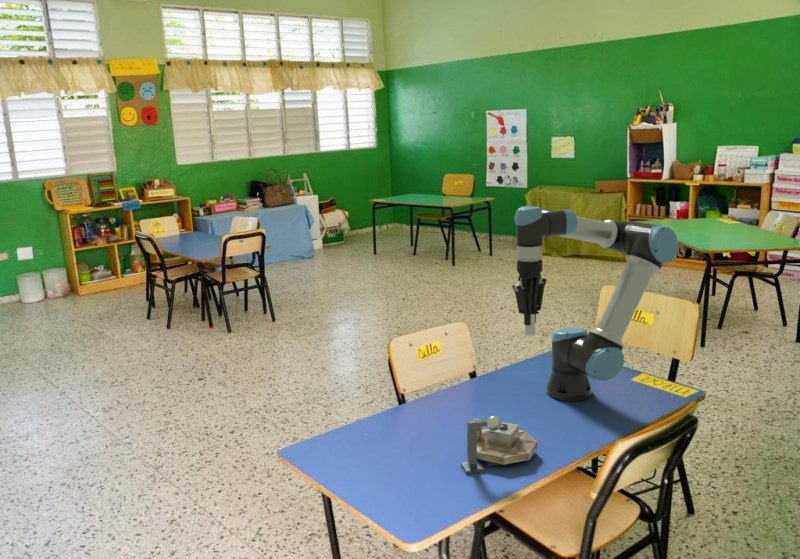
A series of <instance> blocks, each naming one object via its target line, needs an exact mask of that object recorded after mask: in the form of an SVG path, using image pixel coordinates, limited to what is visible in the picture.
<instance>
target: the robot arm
mask: <svg viewBox="0 0 800 559" xmlns="http://www.w3.org/2000/svg"><path fill="white" fill-rule="evenodd" d="M513 219H514V224H515V230H516V232H515V233H516V234H515V235H516V259H517V260H516V272H517V273H518V279H517V283H516V284H513V285H512V286H511V287H512V289H513V291H514V295H515V300H516V304H517V308H518V310H517V311H518V313H519V314H522V315H523V324H524V329H525V330H524V334H525V335H527V336H531V337H533V336H535V335H536V323H537V315H539V313H540V311H541V310H542V305H543V297H544V292H545V286H546V283H547V278H544V277H542V274H541V273H542V272H543V260H542V258H543V239H544V238H549V237H550V238H551V237H561V238H566V239H567V238H568V239H573V240H576V241H583V242H589V243H593V244H598V246H599V247H600V248H604V249H609V250H611V251H615V252H617V253H621V254H623V255H625V259H626V262H627V263H626V265H625V267H624V270H623V271H622V274H621V276H620V278H619V280H618V282H617V285H616V287H615V288H614V291H613V293H612V294H611V297H610V299H609V302H608V303H607V305H606V306H605V309H604V311H603V314H602V316H601V317H600V320H599V322H598V324H597V326H596V328H593V329H592V330H589V332H588V330H587V329H586V328H583V327H565V328H564V327H563V328H559V329H556V330H555V331H554V332H553V333H552V338H551V373H550V375H549V377H548V378H549V379H547V384H546V394H547V395H548V396H549V397H551V398H552V399H556V400H558V401H564V402H565V401H566V402H578V401H579V400H580V401H584V399H585V400H587V399H589V398H590V397H591V396H592V386H591V382H590V380H589V378H591V379H594V380H597V381H602V382H606V381H607V382H608V381H610V380H612V379H614V378H615V377H617V376H618V375H619V374H620V372H621V371H622V369H623V368H624V365H625V360H624V359H625V355H624V354H623V350H624V347H625V346H624V343H623V341H622V339H623V337H624V335H625V333H626V331H627V329H628V327H629V325H630V322H631V321H632V318H633V316H634V314H635V312H636V310H637V308H638V306H639V304H640V302H641V300H642V297H643V295H644V293H645V291H646V289H647V286H648V285H649V282H650V281H651V278H652V277H653V275H654V274H655V273H658V272H660V271H661V269H662V267H663V265H664V264H668V263H670V262H672V261H673V260H674V259H675V258H676V256H677V253H678V250H679V241H678V236H677V234H676V232H675V231H674V230H673V229H672V228H671V227H669V226H665V225H661V224H654V223H647V222H639V221H624V220H623V221H622V220H613V219H606V220H604V221H603V220H597V219H592V218H589V217H588V218H587V217H581V216H578V215H577V214H576V213H575V212H574V211H573V210H572V209H560V210H556V209H547V208H542V207H540V206H530V205H529V206H528V205H527V206H526V205H525V206H521V207H519V208H517V210H516V212H515V214H514V218H513ZM588 397H589V398H588Z"/></svg>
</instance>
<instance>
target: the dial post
mask: <svg viewBox="0 0 800 559" xmlns="http://www.w3.org/2000/svg"><path fill="white" fill-rule="evenodd" d="M502 422H503V421H502V420H501V419H500V417H499V416H497V415H491V416H490V417H488V418H487V419H484V420H483V419H481V421H475V420H472V419H467V420H466V435H467V436H466V440H467V442H466V443H467V445H466V446H467V461H462V462H460V467H461V468H462V470H463V471H464V473H465V475H473V474H479V473H484V472H485V468H484V466H483V465H482V464H481V461H479V459H478V458H477V430H476V427H487V429H489V430H491V431H497V430H498V429H500V427H501V425H502Z"/></svg>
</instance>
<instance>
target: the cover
mask: <svg viewBox="0 0 800 559" xmlns="http://www.w3.org/2000/svg"><path fill="white" fill-rule="evenodd" d="M501 422H502V425H501V427H500V429H498V430H497V431H491V430H489V429H488V428H487V429H488V430H487V443H488V444H493V445H498V446H503V447H508V448H511V447H512V446H513V445H514V443H515V442H516V441H517V439H518V438H519V430H520V424H517V423H511V422H505V421H501Z"/></svg>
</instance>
